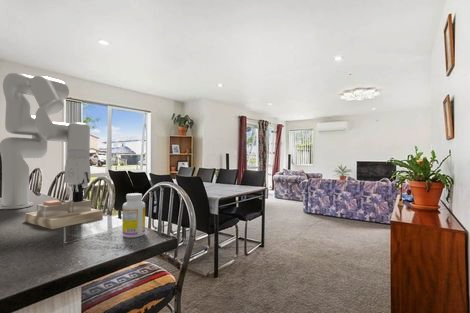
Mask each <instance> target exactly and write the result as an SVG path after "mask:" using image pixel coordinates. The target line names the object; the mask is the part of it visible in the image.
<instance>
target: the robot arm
mask: <svg viewBox="0 0 470 313" xmlns="http://www.w3.org/2000/svg"><path fill="white" fill-rule="evenodd" d="M2 92H3V95H4V98H5V117H4V119H5V121H4V125H5V126H4V127H5V130H6V132H8V133H9V134H12V135H21V136H22V135H23V136H31V137H32V138H30V137H17V136H15V137H14V136H11V137H6V138H3V139H2V140H1V141H0V158H1V203H0V210H16V209H17V210H18V209H22V208H23V209H24V208H28V207H32V206H34V202H32V201H30V166H29V164H28V163H27V161H25V159H41V158H43V157H45V156H46V154H47V151H48V142H61V143H63V142H64V143H66V144H67V147H66V150H67V151H66V152H67V153H66V162H65V167H64V183H66V184H68V186H69V187H70V188H71V193H72V200H73V202H80V201H83V199H84V192H85V189H86V188H88V187H89V184H90V182H91V163H90V156H91V155H90V146H91V145H90V144H91V143H90V142H91V141H90V140H91V138H90V137H91V130H90V129H91V128H90V125H89V124H88V123H84V122H70V123H67V122H58V121H52V119H51V118H50V117H49V116H50V115H54V114H57V113H60V112H61V111H62V110H63V109H64V107H65V106H64V105H65V104H64V102H63V100H66V99H67V98H68V97H69V94H70V90H69V86H68V85H67V84H66V83H65V82H64V81H62V80H60V79H56V78H53V77H48V76H43V75H35V76H32V75H28V74H25V73H19V72H18V73H17V72H10V73H7V74H6V75H5V76H4V78H3V81H2ZM25 95H28V96H32V97H34V98H35V100H36V103H37V104H38V106H39V107H38V108H37V110H36V111H35V114H34V115H31V103H30V102H29V100H28V98H27V97H26V96H25Z"/></svg>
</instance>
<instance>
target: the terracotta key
mask: <svg viewBox="0 0 470 313" xmlns="http://www.w3.org/2000/svg"><path fill="white" fill-rule="evenodd" d="M62 201H63V200H58V199H57V200H46V201H43V203H42V204H43V205H46V206H53V205H60V204H62V203H63V202H62Z"/></svg>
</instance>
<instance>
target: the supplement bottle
mask: <svg viewBox="0 0 470 313" xmlns="http://www.w3.org/2000/svg"><path fill="white" fill-rule="evenodd" d="M125 199H126V202H124V203H123V204H122V231H121V232H122V233H121V234H122V236H123V237H124V238H128V239H132V238H133V239H134V238H139V237H142V236H144V235H145V234H146V203H145V202H144V201H142V199H143V194H142V193H139V192H134V193H133V192H132V193H127V194H126V196H125Z"/></svg>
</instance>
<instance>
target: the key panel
mask: <svg viewBox="0 0 470 313" xmlns="http://www.w3.org/2000/svg"><path fill="white" fill-rule="evenodd" d="M72 201H73V199H70V200H69V199H67V200H63V202H62V204H60V205H53V206H46V205H43V203H42V204H41V203H40V204H36V211H34V212H33V211H32V212H26V213H25V214H24V220H25V221H24V222H25V223H29V224H32V225H36V226H39V227H42V228H46V229H49V230H54V229H55V230H56V229H60V228H65V227H70V226H74V225H78V224H83V223H87V222H92V221H96V220H100V219H104V218H103V216H104V215H103V214H104V211H103V210H101V209H98V208H97V209H95V208H92V199H86V198H83V201H80V202H72Z"/></svg>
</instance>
